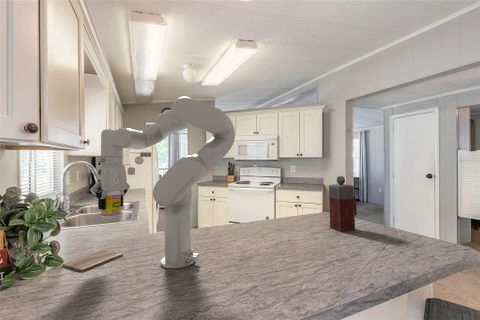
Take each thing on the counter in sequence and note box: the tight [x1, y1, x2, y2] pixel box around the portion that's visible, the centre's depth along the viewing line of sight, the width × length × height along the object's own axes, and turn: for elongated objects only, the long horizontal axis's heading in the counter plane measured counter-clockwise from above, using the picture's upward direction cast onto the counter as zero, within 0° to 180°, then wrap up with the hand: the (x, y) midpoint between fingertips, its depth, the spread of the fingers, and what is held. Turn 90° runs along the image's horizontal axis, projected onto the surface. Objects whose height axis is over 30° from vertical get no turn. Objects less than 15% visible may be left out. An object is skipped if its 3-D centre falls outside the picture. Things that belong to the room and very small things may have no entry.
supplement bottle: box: [100, 191, 122, 220], centre depth 94 cm, size 7×7×13 cm
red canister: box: [328, 175, 358, 233], centre depth 130 cm, size 9×11×28 cm
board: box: [62, 249, 124, 273], centre depth 94 cm, size 12×16×1 cm
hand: (111, 207), depth 94 cm, fingers closed on supplement bottle, 6 cm apart
